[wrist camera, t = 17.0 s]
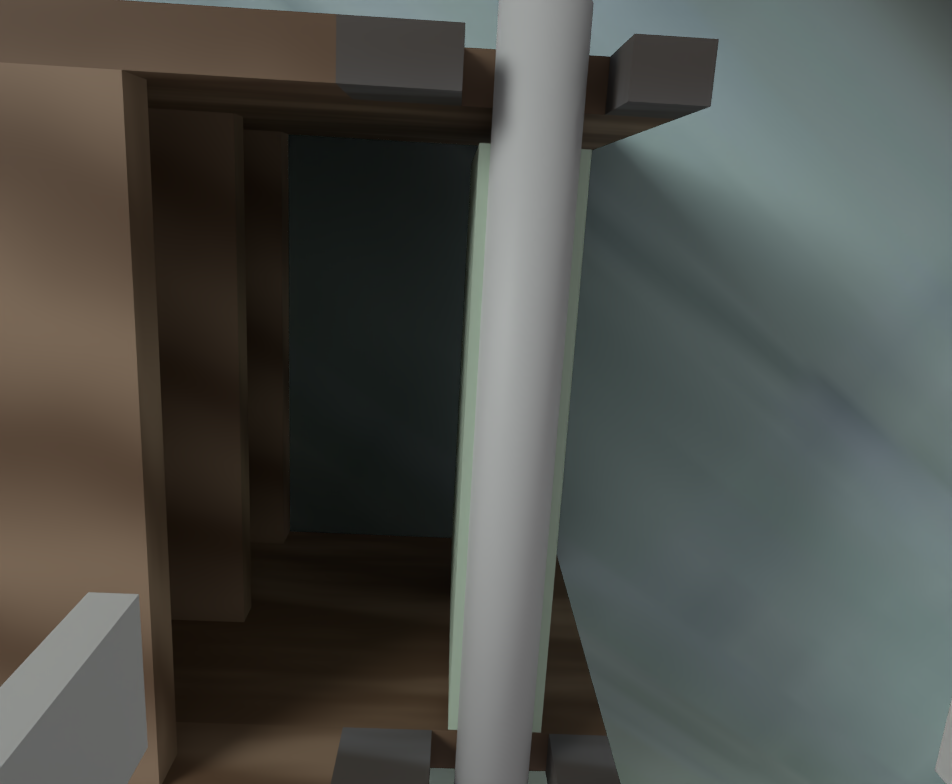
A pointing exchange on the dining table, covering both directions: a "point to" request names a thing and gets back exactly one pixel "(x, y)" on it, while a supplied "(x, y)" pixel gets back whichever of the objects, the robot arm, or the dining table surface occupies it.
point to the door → (516, 383)
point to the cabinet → (235, 378)
